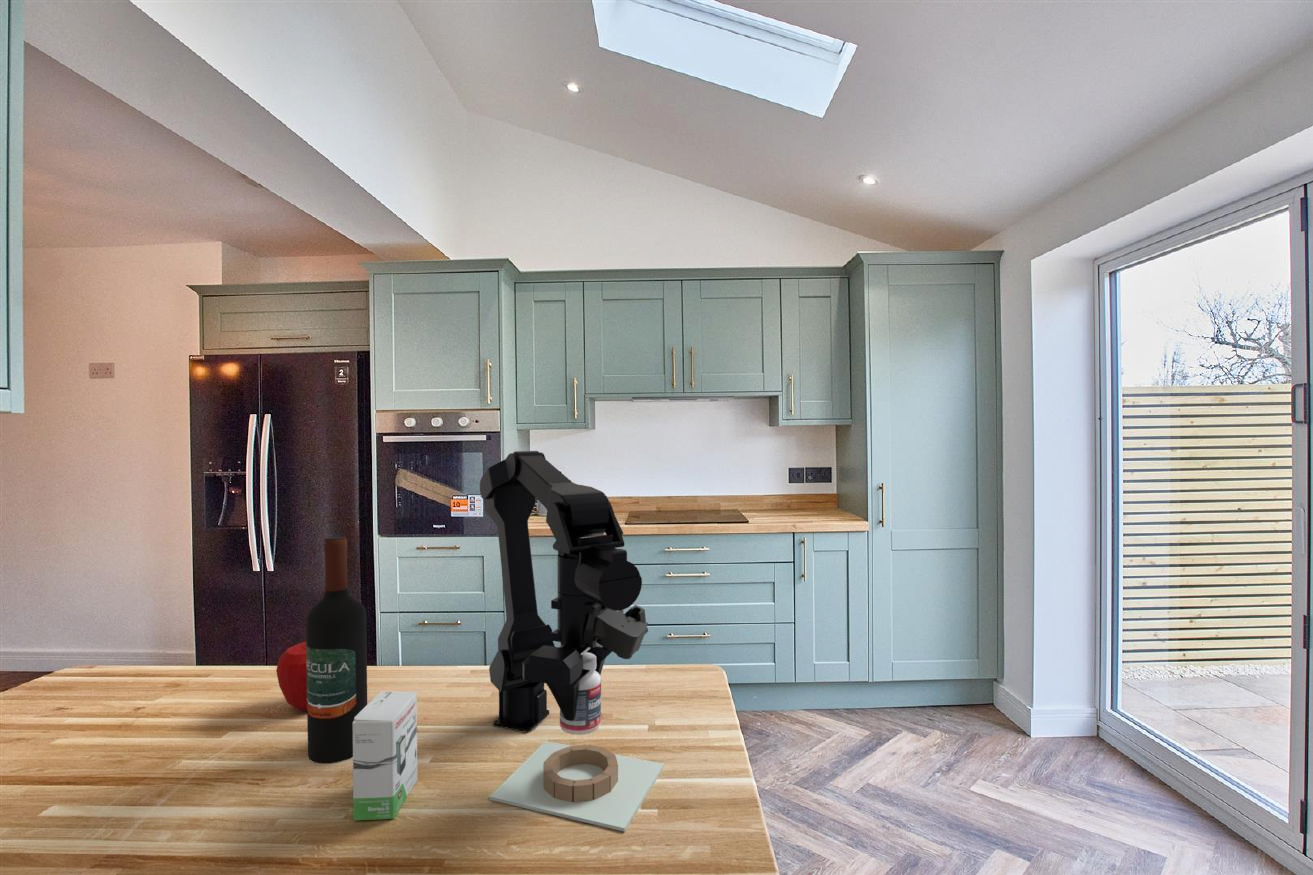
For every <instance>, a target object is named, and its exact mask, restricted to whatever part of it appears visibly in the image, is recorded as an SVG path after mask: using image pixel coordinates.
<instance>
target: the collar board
mask: <svg viewBox="0 0 1313 875" xmlns="http://www.w3.org/2000/svg"><path fill="white" fill-rule="evenodd" d="M664 768H665V763H661V762H656V761H651V760H645V759H642V758H641V759H640V758H635V757H631V756H625V755H620V754H616V753H615V754H614V753H613V752H612V751H610V750H608V749H607V748H606V747H602V746H597V745H592V744H579V745H568V744H563V743H557V742H553V741H547V740H545V741H544V742H543V743H542V744H540V746H539V747H538V748H537V749H536V750H535V751H534V752H533V753H532V754H531V755H530V756H529V757H528V758H527V759H526V760H525V761H524V762H522V764H521V765H520V766H519V767H517V768H516V769H515V770H514V772H512V773H511V774H510V776H509V777H508V778H507V779H505V780H504V781H503V782H502V784H501V783H500V785H499V786H498V787H497V788H496V789H495V790H494V791H493V792H492V793H491V794H490V795H489V796H488V797H489V798H488V799H489V800H490V801H493V802H496V803H502V804H504V805H505V804H506V805H510V806H515V807H518V808H524V809H527V810H532V811H535V812H540V813H543V814H549V815H552V816H557V817H561V818H565V819H569V820H574V821H578V822H582V823H586V824H590V825H595V826H599V827H604V828H608V829H612V830H616V831H620V832H626V831H627V829H628V827H629V826H630V824H631V822H632V821H633V819H634V818H635V816H636V814H637V812H638V811H639V809H640V808H641V806H642V804H643V803H644V801H645V800H646V798H647V796H648V794H649V792H651V789H652V788H653V786H654V784H655V783H656V781H657V780H658V777H659V776H660V775H661V773H662V771H663V769H664Z"/></svg>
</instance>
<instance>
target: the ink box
mask: <svg viewBox="0 0 1313 875" xmlns="http://www.w3.org/2000/svg"><path fill="white" fill-rule="evenodd" d="M417 699H418V692H417V691H395V690H393V691H387V690H385V691H380V692H378V693H377V695H375V696H374V698H372V699H371V700H370V701H369V702H367V705H366V706H365V707H364V708H363V709H362V710H361V711H360V712H359V713H358V714H357V715H356V716H355V718H354V721H353V723H352V724H353V757H352V789H353V790H352V796H353V797H352V798H353V799H352V801H353V804H352V805H353V806H352V808H353V810H352V813H353V815H352V816H353V821H371V820H372V821H373V820H374V821H375V820H387V819H388V820H391V819H395V817H396V816H397V814H398V812H399V811H400V809H401V807H402V806H403V803H404V802H406V799H407V798H408V795H410V792H411V791H412V789H413V787H414V786H415V784H416V783H417V780H418V734H417V733H418V710H417V709H418V705H417V704H418V702H417V701H418V700H417Z"/></svg>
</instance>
